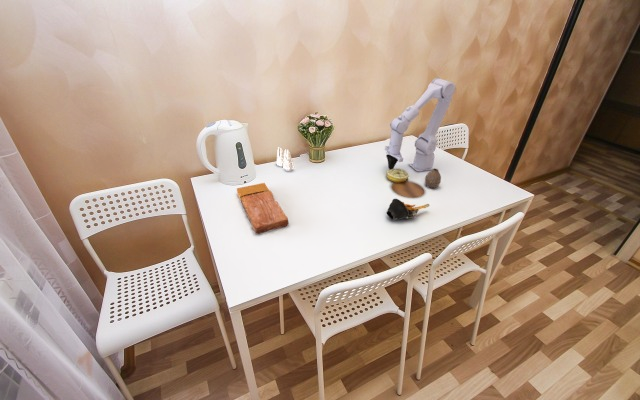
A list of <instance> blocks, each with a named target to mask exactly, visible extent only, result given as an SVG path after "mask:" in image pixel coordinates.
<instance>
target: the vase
mask: <svg viewBox="0 0 640 400" xmlns="http://www.w3.org/2000/svg"><path fill="white" fill-rule="evenodd" d="M441 181H442V176H441V174H440V171H439V169H438V168H432V170H429V172H427V174H426V175H425V178H424V183H425V185H426V187H427V188H429V189H435V188H437V187H439V185H440V184H441Z"/></svg>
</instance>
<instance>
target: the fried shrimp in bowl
mask: <svg viewBox="0 0 640 400" xmlns="http://www.w3.org/2000/svg"><path fill="white" fill-rule="evenodd" d="M429 207H430V203H426V204H423V205H420V206H416V204H408V203H405V201H401V200H400V199H398V198H393V199H392V200H391V202H390V204H389V206H388V209H387V211H386V216H387V217H388V218H389V219H390V220H391V221H393V220H402V219H411V218H414V216H415V215H417V214H418V212H419V211H420V210H422V209H427V208H429Z"/></svg>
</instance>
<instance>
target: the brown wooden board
mask: <svg viewBox="0 0 640 400" xmlns="http://www.w3.org/2000/svg"><path fill="white" fill-rule="evenodd" d="M236 193H237V197H238V198H239V200H240V202H241V205H242V207H243V210H244V211H245V214H246V217H247V219H248V221H249V222H250V224H251V227H252V228H253V231H254V233H255V234H257V235H260V234H262V233H265V232H268V231H273V230H277V229H280V228H285V227H287V226H289V218H288V216H287V215H286V213H285V212H284V210H283V209H282V207H281V206H280V204H279V202H278V201H277V200H275V196H274V193H273V192H272V191H271V190H269V187H268V186H267V184H266V183H265V182H262V183H261V182H260V183H257V184H252V185H248V186H242V187H237V188H236Z"/></svg>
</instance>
